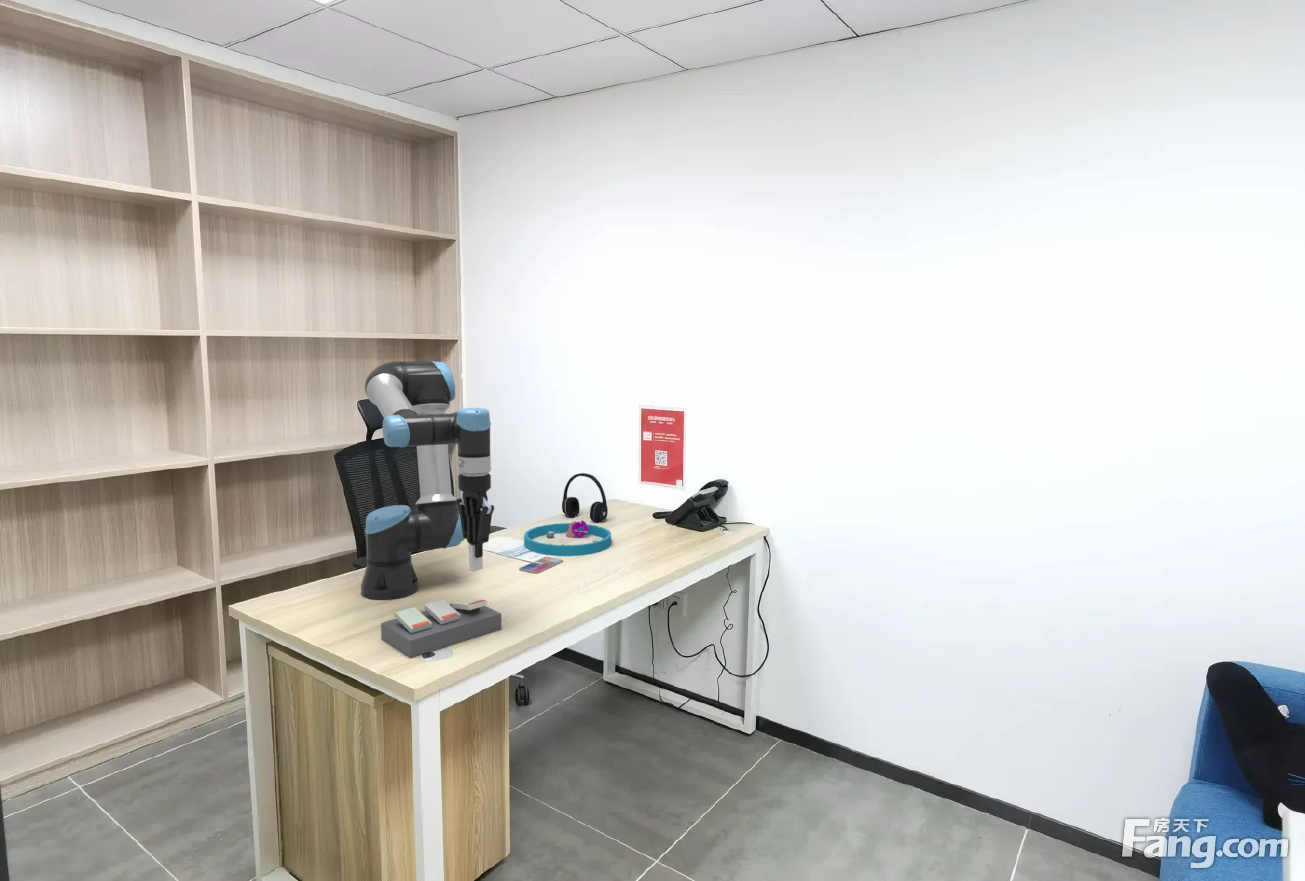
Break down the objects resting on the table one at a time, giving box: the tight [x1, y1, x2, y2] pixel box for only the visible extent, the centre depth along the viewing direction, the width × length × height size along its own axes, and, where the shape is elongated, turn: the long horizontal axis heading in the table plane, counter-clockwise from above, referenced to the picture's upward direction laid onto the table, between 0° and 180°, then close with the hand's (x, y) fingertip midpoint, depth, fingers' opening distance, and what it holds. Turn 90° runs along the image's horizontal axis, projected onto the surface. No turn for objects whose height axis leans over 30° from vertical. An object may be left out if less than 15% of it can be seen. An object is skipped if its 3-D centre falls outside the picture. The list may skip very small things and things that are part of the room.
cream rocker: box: [451, 597, 488, 610], centre depth 182 cm, size 8×5×1 cm, turn 46°
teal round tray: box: [523, 520, 612, 557], centre depth 257 cm, size 30×30×6 cm
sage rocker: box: [394, 606, 432, 633], centre depth 171 cm, size 8×5×1 cm, turn 46°
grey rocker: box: [423, 599, 460, 625], centre depth 177 cm, size 8×5×1 cm, turn 46°
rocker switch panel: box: [380, 603, 502, 659], centre depth 179 cm, size 19×24×5 cm
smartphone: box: [518, 556, 564, 575], centre depth 232 cm, size 7×1×15 cm
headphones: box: [561, 472, 609, 523], centre depth 290 cm, size 20×7×18 cm, turn 57°
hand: (476, 569), depth 178 cm, fingers closed
